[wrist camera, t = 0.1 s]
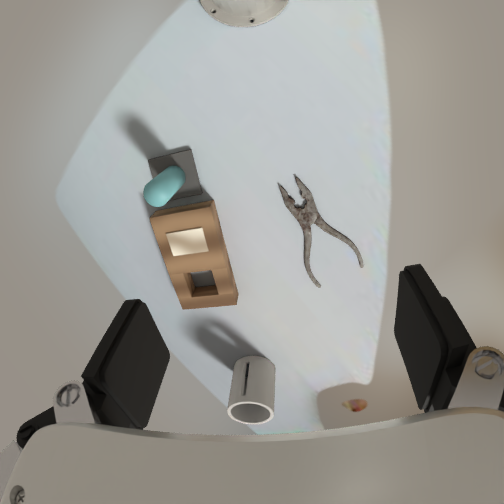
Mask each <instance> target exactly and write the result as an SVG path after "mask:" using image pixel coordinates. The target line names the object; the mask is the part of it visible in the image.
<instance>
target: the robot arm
mask: <svg viewBox="0 0 504 504" xmlns="http://www.w3.org/2000/svg"><path fill="white" fill-rule="evenodd" d="M288 1H289V0H284V1H282V0H200V2H201V4H202V6H203V8H204V9H205V11H206V12H207V13H208V14H209V15H210V16H211V17H213V18H214V19H215V20H217V21H219V22H221V23H223V24H226V25H229V26H234V27H252V26H257V25H261V24H264V23H266V22H268V21H270V20H272V19H273V18H275V17H276V16H278V15H279V14H280V13H281V12H282V11H283V10H284V8H285V7H286V5H287V3H288ZM214 11H216V13H213V12H214ZM251 20H254V22H253V23H251V22H250V21H251ZM394 333H395V338H396V341H397V343H398V346H399V349H400V351H401V355H402V357H403V360H404V363H405V366H406V369H407V372H408V375H409V378H410V381H411V384H412V388H413V391H414V394H415V397H416V401H417V404H418V407H419V409H420V410H422V409H424V411H425V413H423V414H417V415H412V416H408V417H403V418H398V419H393V420H388V421H382V422H377V423H371V424H365V425H359V426H353V427H345V428H338V429H330V430H321V431H311V432H300V433H286V434H267V435H202V434H182V433H169V432H158V431H148V430H143V428H145V427H146V426H147V424H148V422H149V418H150V415H151V412H152V409H153V406H154V403H155V400H156V397H157V394H158V391H159V388H160V385H161V383H162V379H163V377H164V374H165V371H166V368H167V365H168V362H169V359H170V354H169V350H168V348H167V346H166V344H165V342H164V340H163V338H162V336H161V334H160V332H159V330H158V328H157V326H156V324H155V322H154V320H153V318H152V316H151V314H150V311H149V309H148V307H147V305H146V304H145V303H144V302H142V301H141V300H140V299H133V300H126V301H125V302H124V303H123V305H122V306H121V308H120V310H119V311H118V313H117V314H116V316H115V318H114V320H113V321H112V323H111V325H110V326H109V328H108V329H107V331H106V333H105V335H104V336H103V338H102V340H101V342H100V343H99V345H98V347H97V348H96V350H95V352H94V354H93V355H92V357H91V359H90V361H89V363H88V364H87V366H86V368H85V370H84V372H83V374H82V375H81V377H82V378H83V379H84V381H83V383H80V382H79V381H75V380H74V381H69V382H66V383H64V384H63V385H61V386H60V387H59V388H58V389H57V391H56V392H55V394H54V397H53V407H51V408H49V409H48V410H46V411H44V412H42V413H41V414H39V415H37V416H36V417H34V418H32V419H30V420H28V421H27V422H25V423H24V424H23V425H22V426H21V427H20V429H19V431H18V433H17V442H15V441H14V440H13V441H12V442H11V443H10V444H9V445H8V446H7V447H6V448H5V449H4V450H3V451H2V452H1V453H0V504H504V354H503V353H502V352H500V351H499V350H498V349H496V348H493V347H489V346H483V347H479V348H476V346H475V344H474V342H473V341H472V339H471V337H470V335H469V333H468V332H467V330H466V328H465V326H464V325H463V323H462V321H461V320H460V318H459V317H458V315H457V313H456V311H455V310H454V308H453V306H452V305H451V303H450V302H449V300H448V299H447V298H446V297H442V296H441V294H440V293H439V291H438V290H437V288H436V286H435V285H434V283H433V282H432V280H431V279H430V277H429V276H428V274H427V273H426V271H425V270H424V268H423V267H422V266H421V264H416V265H410V266H405V268H404V271H400V274H399V286H398V298H397V308H396V318H395V326H394Z"/></svg>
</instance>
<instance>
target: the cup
mask: <svg viewBox="0 0 504 504" xmlns="http://www.w3.org/2000/svg"><path fill="white" fill-rule="evenodd" d="M248 363H249V372H248V378H246V377H245V375H246V366H247V364H248ZM274 397H275V366H274V364H273V363H272V362H271V361H270V360H268V359H266V358H264V357H260V356H246V357H243V358H241V359H239V360H238V361H237V362H236V363H235V365H234V370H233V377H232V383H231V390H230V396H229V403H228V409H227V412H228V415H229V416H230V417H231V418H232V419H233V420H235V421H238V422H241V423H244V424H262V423H265V422H268V421H270V420H271V419H272V418H273V416H274Z"/></svg>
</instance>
